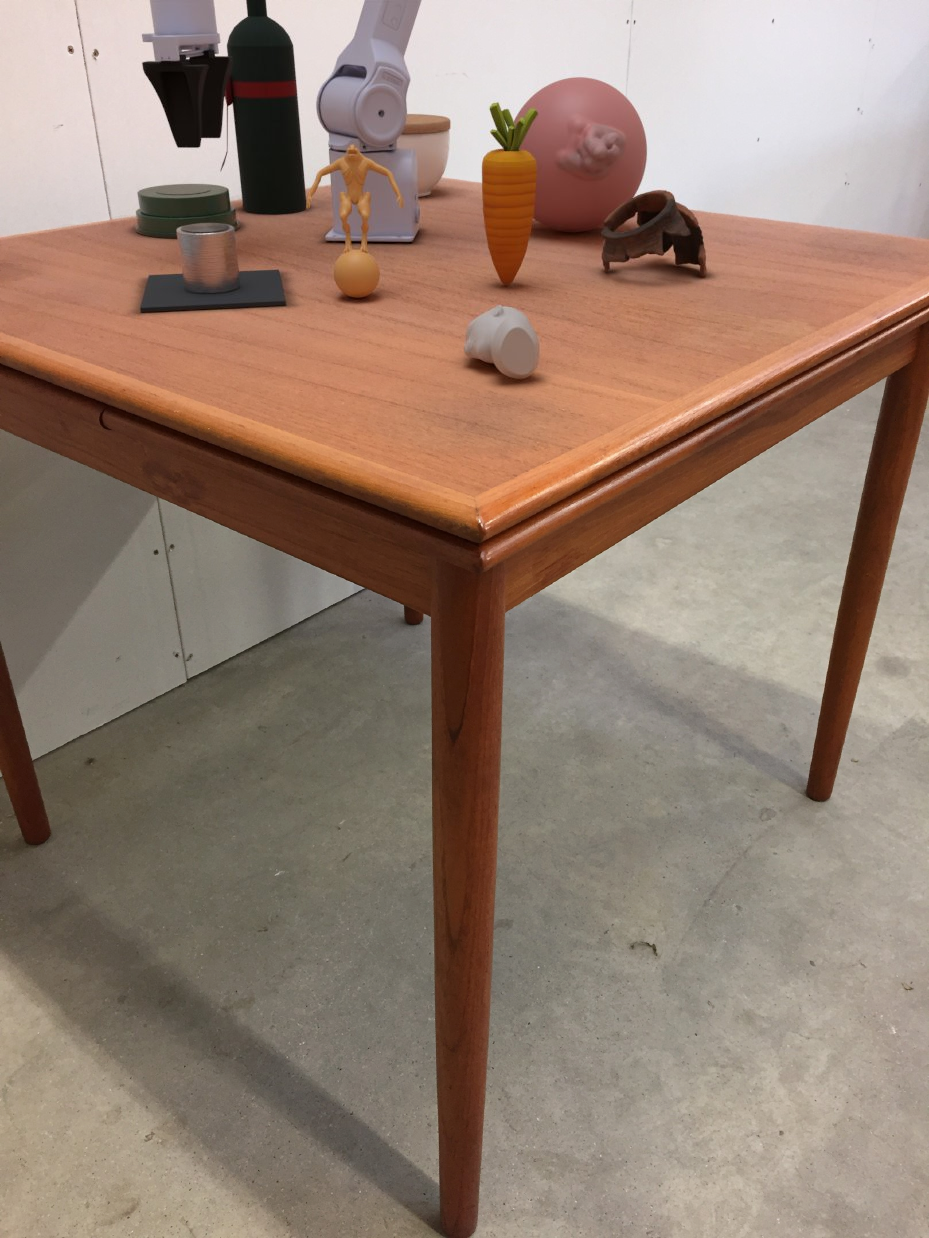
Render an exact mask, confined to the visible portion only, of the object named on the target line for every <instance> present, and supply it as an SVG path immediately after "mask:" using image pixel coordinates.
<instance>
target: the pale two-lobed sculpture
mask: <svg viewBox="0 0 929 1238" xmlns="http://www.w3.org/2000/svg"><path fill="white" fill-rule="evenodd" d="M465 330H466V331H465V345H464V347H463V353H464V355H465V356H466V357H468V358H471V359H478V360H481V361H483V362H484V363H486V364H494V366H495V368H496V369H497V370H498V371H499V372H500V373H501V374H503V375H504V376H506V377H508V378H511V379H516V380H523V379H527V378H529V377H530V376H532V374H534V372H535V371H536V370H537V367H538V364H539V360H540V350H541V349H540V341H539V338H538V335H537V333H536V331H535V330H534V328H533V326H532V325H531V322H530V320H529V318H528V317H527V315H526V314H524V313H523V312H522V311H521V310H519V309H517V308H515V307H511V306H507V305H506V306H503V305H501V304H497V305H496V306H495V307H493V308H490V309H489V310H486V311H485V312H484V313H483V312H482V314H480V315H478V316H476V317H475V318H474V319H472V320H471V321H470V322H469V324H468V325H467V327H466V329H465Z"/></svg>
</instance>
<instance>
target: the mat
mask: <svg viewBox="0 0 929 1238" xmlns="http://www.w3.org/2000/svg"><path fill="white" fill-rule="evenodd" d="M239 275H240V284H241V286H240V288H238V289H236V290H234V291H230V292H225V293H217V294H198V293H192V292H188V291H186V290H185V288H184V281H183V274H182V273H166V274H165V273H163V274H149V275H148V277H147V281H146V285H145V289H144V292H143V296H142V299H141V303H140V307H139V310H140V313H157V312H177V311H178V312H179V311H198V310H218V309H221V310H222V309H238V308H240V309H241V308H256V307H257V308H259V307H260V308H261V307H279V306H280V307H282V306H287V301H286V296H285V292H284V287H283V281H282V277H281V272H280V270H279V269H261V270H260V269H259V270H257V269H256V270H239Z"/></svg>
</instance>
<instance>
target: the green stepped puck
mask: <svg viewBox="0 0 929 1238" xmlns="http://www.w3.org/2000/svg"><path fill="white" fill-rule="evenodd" d="M136 195H137V200H138V206H139V208H138V209H136V210H135V218H136V224H135V225H134V228H135V232H136V233H137V234H139V235H142V236H146V237H151V238H161V239H163V238H164V239H177V231H176V230H177V228H179V227H182V226H185V225H190V224H198V223H221V224H228V225H231V226H233V227H234V230H235V231H237V230H239V228H240V227H241V224H240V222H241V221H240V220H239V219H238V218H237V211H236V206H234V205H232V204H231V197H230V190H229V188H228V187H226V186H223V185H217V184H208V183H178V184H175V183H174V184H164V185H155V186H149V187H144V188H141V189H140V190H138V191H137V193H136Z"/></svg>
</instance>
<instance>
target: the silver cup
mask: <svg viewBox="0 0 929 1238" xmlns="http://www.w3.org/2000/svg"><path fill="white" fill-rule="evenodd" d="M176 231H177V238H176V239H177V245H178V253H179V259H180V266H181V274H183V281H184V288H185V290H186V291H188V292H192V293H198V294H217V293H225V292H230V291H234V290H236V289H238V288H240V286H241V284H240V275H239V271H240V266H239V256H238V248H237V240H236V230H234V227H233V226H231V225H228V224H221V223H198V224H190V225H185V226H182V227H179V228H177V230H176Z"/></svg>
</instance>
